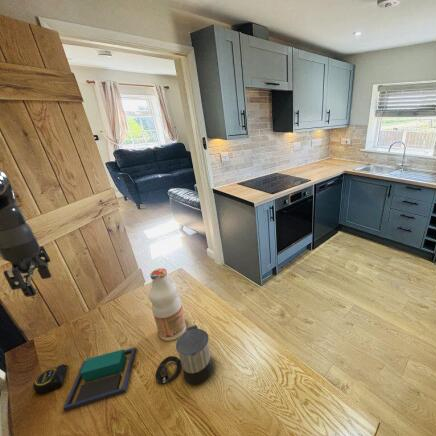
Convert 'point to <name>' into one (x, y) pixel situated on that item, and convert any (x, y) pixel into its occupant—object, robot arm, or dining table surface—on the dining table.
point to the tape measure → (50, 379)
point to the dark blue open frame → (70, 405)
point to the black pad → (98, 387)
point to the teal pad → (104, 365)
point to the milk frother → (190, 358)
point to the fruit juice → (166, 306)
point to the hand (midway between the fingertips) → (39, 286)
